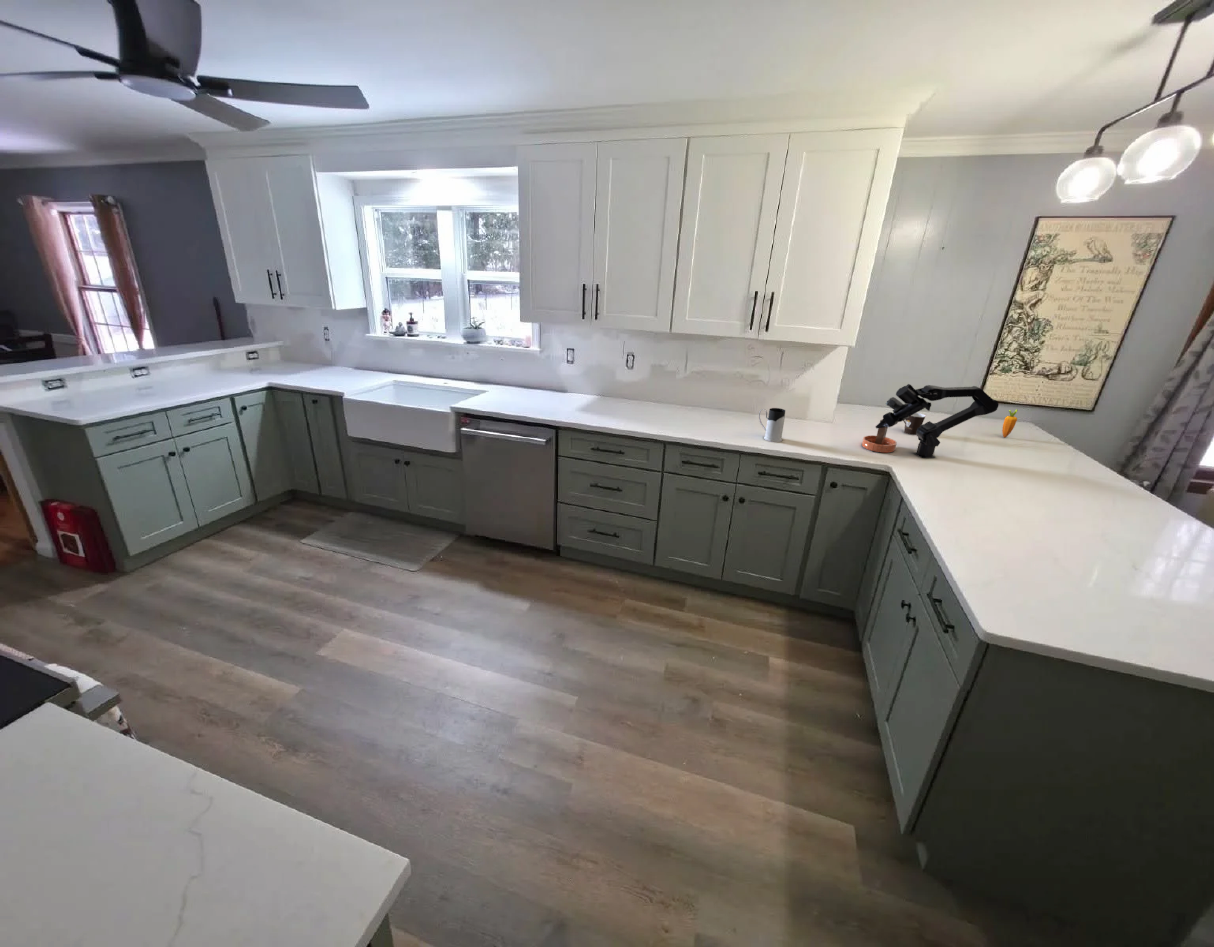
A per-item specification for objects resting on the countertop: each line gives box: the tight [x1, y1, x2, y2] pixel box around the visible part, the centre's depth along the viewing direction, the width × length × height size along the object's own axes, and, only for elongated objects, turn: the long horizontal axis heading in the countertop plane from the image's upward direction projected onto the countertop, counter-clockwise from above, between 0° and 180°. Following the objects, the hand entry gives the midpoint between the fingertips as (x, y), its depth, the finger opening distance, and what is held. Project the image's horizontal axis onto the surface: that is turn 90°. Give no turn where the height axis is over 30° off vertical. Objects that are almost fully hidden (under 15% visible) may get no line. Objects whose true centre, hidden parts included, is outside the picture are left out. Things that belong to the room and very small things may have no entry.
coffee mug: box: [903, 412, 927, 436], centre depth 259 cm, size 12×9×10 cm
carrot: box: [1001, 409, 1018, 439], centre depth 251 cm, size 5×5×15 cm
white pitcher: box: [758, 407, 786, 443], centre depth 247 cm, size 9×14×15 cm, turn 39°
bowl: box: [861, 435, 898, 454], centre depth 237 cm, size 14×14×4 cm
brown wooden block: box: [875, 418, 889, 445], centre depth 235 cm, size 4×4×14 cm
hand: (880, 425), depth 234 cm, fingers open, 9 cm apart
